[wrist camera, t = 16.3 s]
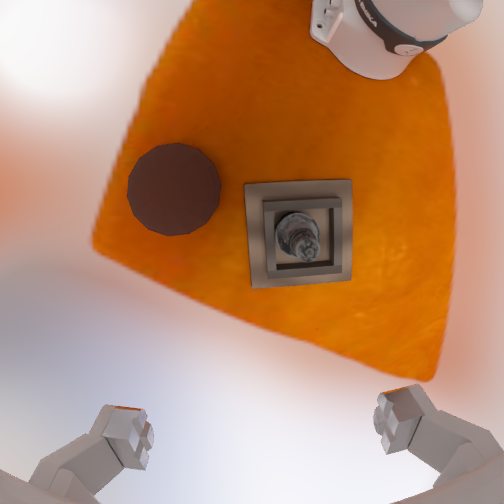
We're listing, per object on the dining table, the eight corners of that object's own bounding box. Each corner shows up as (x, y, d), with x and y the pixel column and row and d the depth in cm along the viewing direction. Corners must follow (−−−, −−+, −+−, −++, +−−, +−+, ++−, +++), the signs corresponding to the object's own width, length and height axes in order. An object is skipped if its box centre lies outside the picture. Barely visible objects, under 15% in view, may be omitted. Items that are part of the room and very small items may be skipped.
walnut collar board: (244, 184, 41) (243, 185, 38) (349, 179, 41) (357, 180, 38) (251, 286, 45) (252, 295, 42) (349, 278, 45) (356, 286, 42)
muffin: (149, 229, 43) (123, 246, 33) (139, 153, 40) (110, 152, 30) (229, 220, 43) (223, 236, 33) (221, 141, 40) (213, 134, 30)
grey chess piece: (318, 213, 42) (344, 231, 30) (309, 253, 43) (331, 285, 32) (277, 205, 41) (289, 221, 30) (269, 246, 43) (277, 277, 31)
